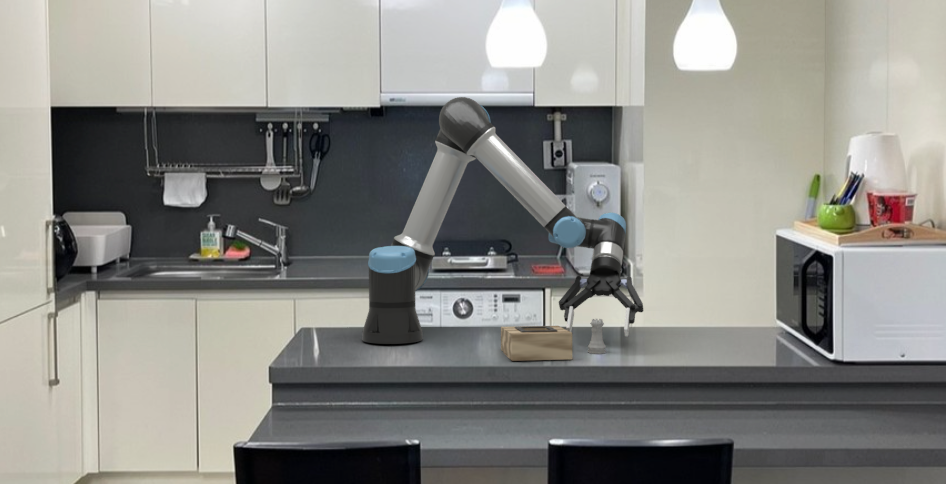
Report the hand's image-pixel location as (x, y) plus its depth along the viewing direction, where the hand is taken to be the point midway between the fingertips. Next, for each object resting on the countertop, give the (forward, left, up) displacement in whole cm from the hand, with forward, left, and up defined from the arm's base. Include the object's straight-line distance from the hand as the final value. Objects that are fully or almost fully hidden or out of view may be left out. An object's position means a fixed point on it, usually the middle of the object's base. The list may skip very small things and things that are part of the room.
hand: (597, 332), depth 227 cm
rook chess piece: (-1, 0, -5) cm, 6 cm away
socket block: (0, -15, -5) cm, 16 cm away
